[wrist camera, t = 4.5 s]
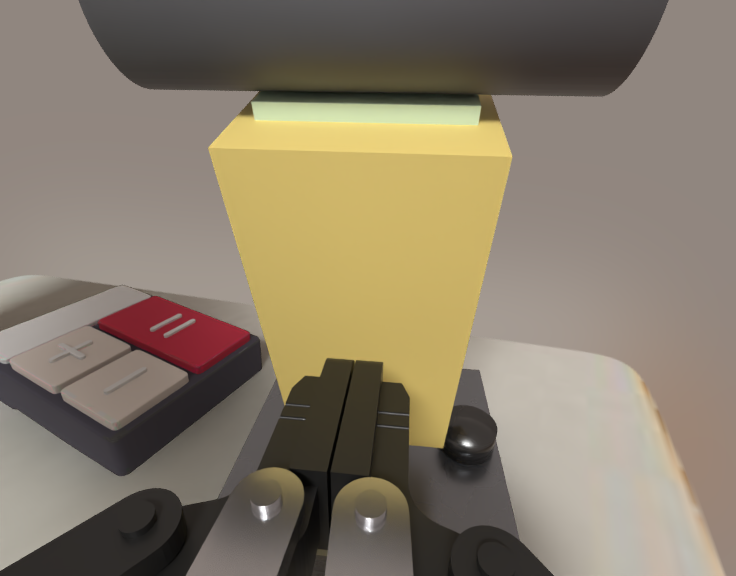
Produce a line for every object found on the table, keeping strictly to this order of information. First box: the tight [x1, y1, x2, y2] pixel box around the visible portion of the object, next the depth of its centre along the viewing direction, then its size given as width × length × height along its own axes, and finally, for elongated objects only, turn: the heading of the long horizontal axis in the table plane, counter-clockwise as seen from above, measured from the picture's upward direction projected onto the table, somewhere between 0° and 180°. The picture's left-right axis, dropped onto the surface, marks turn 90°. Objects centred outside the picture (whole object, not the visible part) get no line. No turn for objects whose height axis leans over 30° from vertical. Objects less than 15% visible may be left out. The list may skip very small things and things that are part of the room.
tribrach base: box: [218, 369, 520, 576], centre depth 20 cm, size 12×12×4 cm
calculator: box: [0, 285, 262, 476], centre depth 28 cm, size 11×4×15 cm
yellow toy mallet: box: [79, 0, 668, 448], centre depth 13 cm, size 10×5×18 cm, turn 84°
